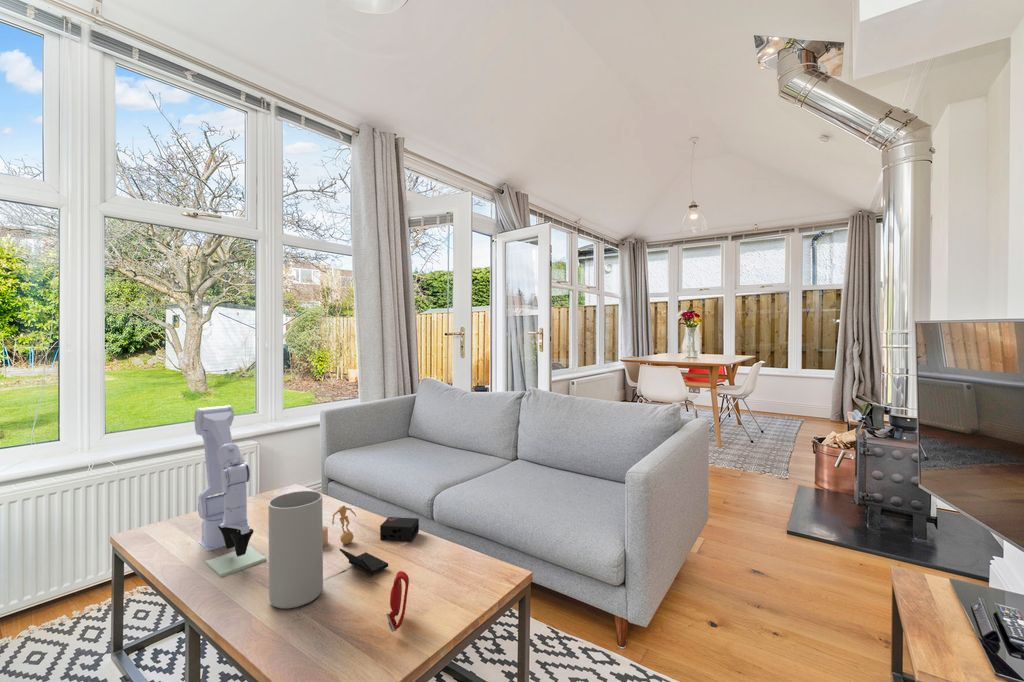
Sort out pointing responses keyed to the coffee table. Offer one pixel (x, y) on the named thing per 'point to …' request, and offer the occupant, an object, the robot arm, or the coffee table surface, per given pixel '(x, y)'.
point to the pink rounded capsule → (325, 536)
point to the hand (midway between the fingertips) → (235, 551)
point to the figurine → (346, 535)
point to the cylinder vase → (295, 548)
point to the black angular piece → (366, 562)
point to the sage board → (235, 562)
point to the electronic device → (399, 529)
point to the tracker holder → (397, 600)
